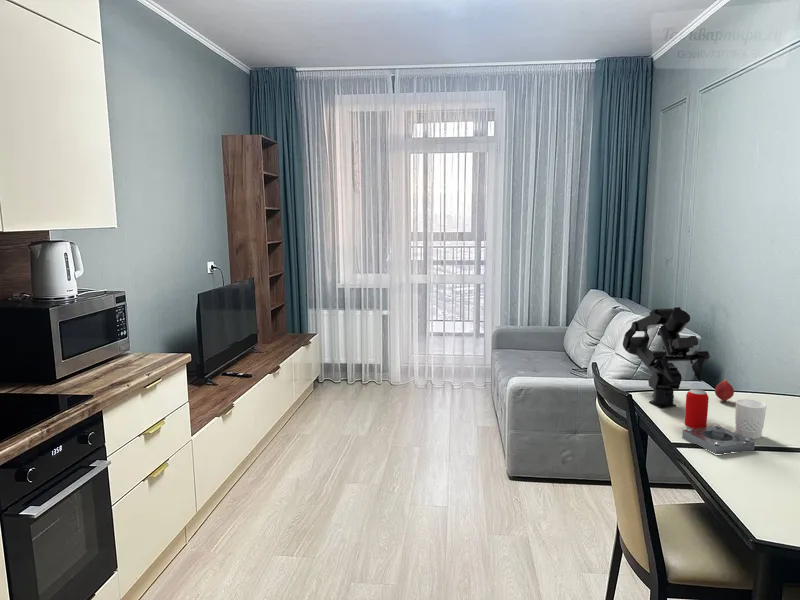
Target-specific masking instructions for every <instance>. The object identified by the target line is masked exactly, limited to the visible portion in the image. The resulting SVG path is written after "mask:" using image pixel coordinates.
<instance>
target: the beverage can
mask: <svg viewBox="0 0 800 600" xmlns="http://www.w3.org/2000/svg"><path fill="white" fill-rule="evenodd" d="M709 401H710V400H709V395H708V393H707V391H705V390H703V389H697V388H691V389H689V390H688V392H687V393H686V395H685V409H684V410H685V411H684V425H685V427H686V428H687V429H688V428H689V429H695V428H703V427H708V423H707V422H708V412H709V411H708V409H709Z"/></svg>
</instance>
